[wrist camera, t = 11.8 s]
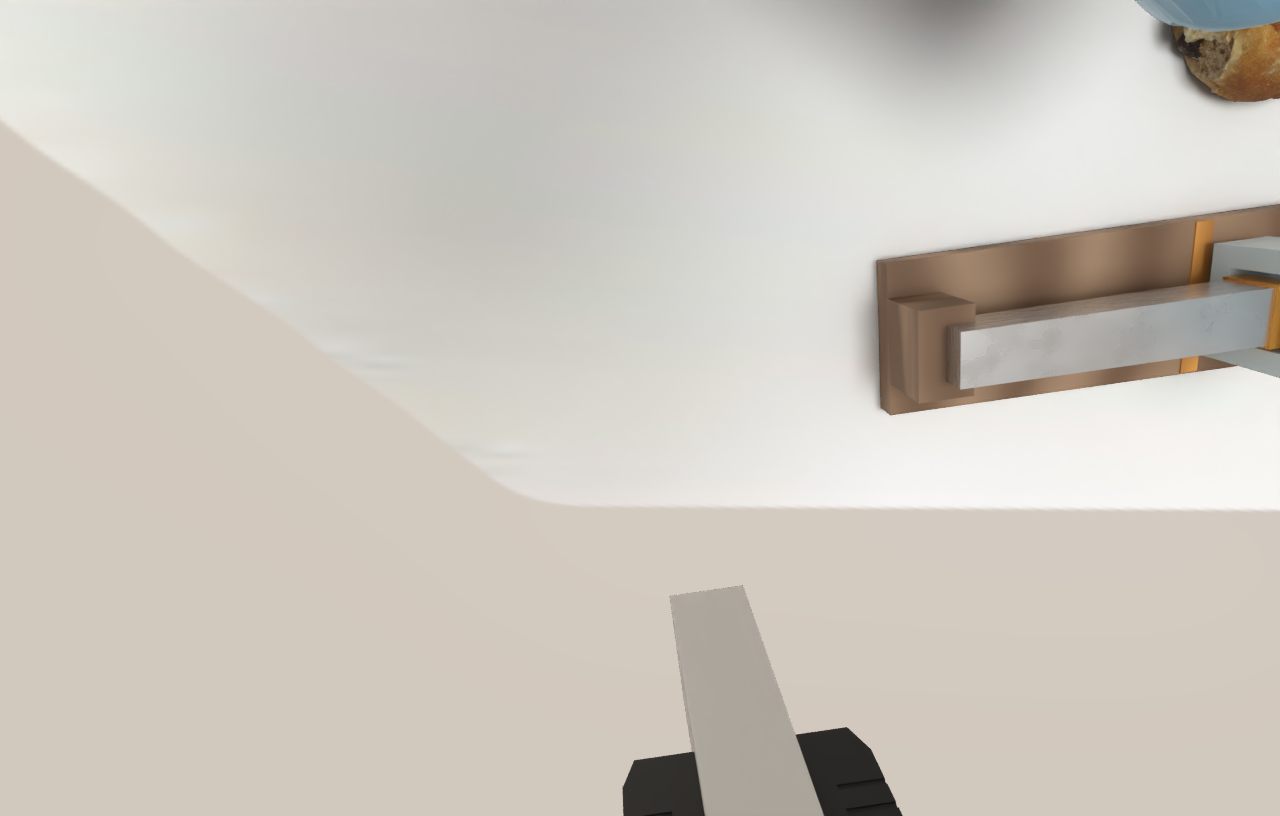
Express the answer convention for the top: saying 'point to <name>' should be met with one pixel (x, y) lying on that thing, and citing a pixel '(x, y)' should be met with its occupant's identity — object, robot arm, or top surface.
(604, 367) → the top surface
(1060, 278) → the base board
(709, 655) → the robot arm
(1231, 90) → the bread roll
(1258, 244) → the slotted grey-blue plate
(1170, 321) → the grey square bar
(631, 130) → the top surface
